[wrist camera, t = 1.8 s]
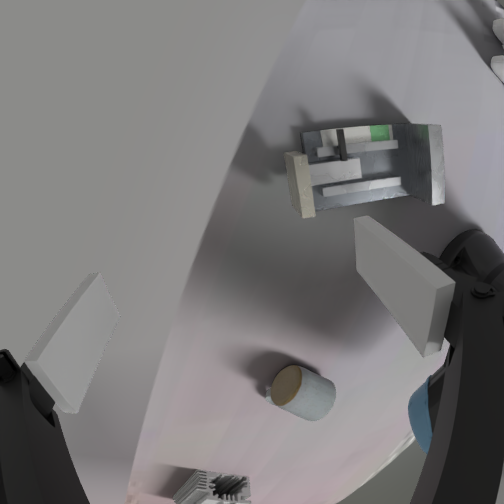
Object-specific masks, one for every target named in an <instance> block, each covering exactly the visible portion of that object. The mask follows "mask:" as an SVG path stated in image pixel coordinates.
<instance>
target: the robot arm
mask: <svg viewBox="0 0 504 504" xmlns="http://www.w3.org/2000/svg"><path fill="white" fill-rule="evenodd" d="M353 219H354V233H355V251H356V270H357V272H358V273H359V274H360V275H361V276H362V278H363V279H364V280H365V281H366V283H367V284H368V285H369V286H370V288H371V289H372V290H373V291H374V293H375V294H376V295H377V296H378V298H379V299H380V300H381V302H382V303H383V304H384V305H385V307H386V308H387V309H388V311H389V312H390V313H391V315H392V316H393V317H394V319H395V320H396V321H397V322H398V324H399V325H400V326H401V328H402V329H403V331H404V332H405V333H406V335H407V336H408V337H409V339H410V340H411V341H412V343H413V344H414V346H415V347H416V348H417V350H418V351H419V352H420V354H421V355H422V357H423V358H424V357H426V356H428V355H431V354H433V353H435V352H438V351H440V350H441V347H442V344H443V340H444V337H445V338H446V340H447V341H448V342H449V343H450V346H449V350H448V353H447V356H446V359H445V362H444V364H443V365H442V366H441V367H440V368H439V369H438V370H437V371H436V372H435V373H434V374H433V375H430V376H429V377H428V378H427V380H426V382H425V383H424V384H423V385H422V386H421V387H419V388H418V389H417V390H416V391H415V392H414V393H413V394H412V396H411V398H410V400H409V404H408V415H409V420H410V424H411V427H412V430H413V433H414V435H415V437H416V440H417V442H418V443H419V445H420V447H421V449H422V450H423V451H424V452H426V454H427V457H426V460H425V463H424V466H423V469H422V472H421V475H420V478H419V481H418V484H417V486H416V489H415V492H414V494H413V497H412V499H411V502H410V504H504V253H503V252H502V250H501V249H500V248H499V247H498V245H497V244H496V242H495V241H494V240H493V239H492V238H491V237H490V236H488V235H487V234H485V233H483V232H481V231H479V230H469V231H466V232H464V233H462V234H460V235H459V236H458V237H456V238H455V239H454V240H453V241H452V242H451V243H450V244H449V245H448V247H447V248H446V249H445V251H444V252H443V254H442V255H441V257H440V259H438V258H437V257H435V256H433V255H431V254H428V253H425V252H423V253H419V252H418V251H416V250H415V249H414V248H412V247H411V246H410V245H408V244H407V243H406V242H404V241H403V240H402V239H400V238H399V237H398V236H396V235H395V234H394V233H392V232H391V231H389V230H388V229H387V228H385V227H384V226H382V225H381V224H380V223H378V222H377V221H375V220H374V219H372V218H371V217H370V216H368V215H367V216H362V217H357V218H353ZM120 317H121V316H120V314H119V313H118V310H117V308H116V306H115V304H114V302H113V300H112V297H111V295H110V293H109V291H108V288H107V286H106V284H105V281H104V279H103V277H102V274H101V272H98V273H93V274H89V275H88V276H87V277H86V278H85V280H84V281H83V282H82V283H81V285H80V286H79V287H78V288H77V290H76V291H75V292H74V293H73V294H72V296H71V297H70V298H69V299H68V301H67V302H66V303H65V304H64V306H63V307H62V308H61V310H60V311H59V312H58V314H57V315H56V316H55V318H54V319H53V320H52V322H51V323H50V324H49V326H48V327H47V328H46V330H45V331H44V332H43V334H42V335H41V337H40V338H39V340H38V341H37V342H36V344H35V345H34V347H33V348H32V350H31V351H30V352H29V354H28V356H27V357H26V359H25V360H24V363H23V365H22V366H21V367H19V365H18V364H17V362H16V361H15V359H14V358H13V356H12V355H11V354H10V352H9V350H7V349H3V350H0V504H90V503H89V501H88V499H87V496H86V494H85V492H84V490H83V487H82V485H81V483H80V480H79V478H78V476H77V473H76V470H75V468H74V465H73V462H72V460H71V457H70V454H69V451H68V448H67V445H66V442H65V439H64V436H63V432H62V429H61V426H60V422H59V419H58V415H57V414H56V412H55V411H54V410H53V409H52V408H53V406H54V404H55V403H56V404H57V405H58V406H59V408H60V409H61V410H62V411H63V412H64V413H78V411H79V408H80V406H81V403H82V401H83V399H84V396H85V394H86V391H87V389H88V386H89V384H90V382H91V380H92V377H93V375H94V373H95V370H96V368H97V366H98V364H99V361H100V359H101V357H102V355H103V353H104V351H105V348H106V346H107V344H108V342H109V340H110V338H111V336H112V334H113V332H114V330H115V328H116V326H117V323H118V321H119V319H120Z"/></svg>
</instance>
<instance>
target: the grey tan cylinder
mask: <svg viewBox="0 0 504 504" xmlns="http://www.w3.org/2000/svg"><path fill="white" fill-rule="evenodd" d="M335 398H336V389H335V386H334V384H333V383H332V381H330V380H329V379H326V378H324V377H322V376H320V375H318V374H316V373H313V372H311V371H309V370H307V369H305V368H303V367H300V366H296V365H291V366H288V367H286V368H284V369H283V370H281V371H280V372H279V374H278V375H277V376H276V377H275V379H274V381H273V383H272V386H271V388H270V389H268V390H267V392H266V396H265V399H266V401H267V402H269V403H270V404H273V405H275V406H278V407H279V408H281V409H283V410H285V411H288V412H290V413H292V414H294V415H297V416H299V417H301V418H303V419H306V420H308V421H317V420H320V419H321V418H323V417H324V416H326V415H327V414H328V412H329V411H330V410H331V408H332V407H333V404H334V402H335Z"/></svg>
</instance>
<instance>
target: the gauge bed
mask: <svg viewBox="0 0 504 504" xmlns="http://www.w3.org/2000/svg"><path fill="white" fill-rule="evenodd" d="M336 129H344V136H345V143H346V150H347V158H350V157H357V158H360V165H361V175H362V178H358V179H351V180H345V181H338V182H332V183H326V184H319V185H313V186H312V192H313V200H314V207H315V211H320V210H325V209H331V208H336V207H342V206H347V205H353V204H359V203H365V202H371V201H377V200H383V199H389V198H395V197H401V196H407V195H411V196H413V197H415V198H417V199H419V200H422V201H424V202H426V203H428V204H430V205H437V204H443V203H445V176H444V153H443V140H442V129H441V125H433V124H414V123H408V124H384V125H368V126H355V127H344V128H334V129H325V130H317V131H309V132H301V133H300V136H301V142H302V148H303V154H307V158H308V163H314V162H320V161H327V160H334V159H340V155H339V147H338V140H337V134H336Z"/></svg>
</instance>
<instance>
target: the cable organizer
mask: <svg viewBox="0 0 504 504" xmlns="http://www.w3.org/2000/svg"><path fill="white" fill-rule="evenodd" d="M492 29H493V32H494V34H495V35H496V36H497V38H498V39H499V40H500V41H501V42H502V44H503V45H501V46H503V48H502V49H504V18H501V19H496V20H494V21H493V27H492ZM491 68H492V70H493V72H494V73H495V74H496V75H497V76H498V78H499V79H500V80H501V81H502V82H503V83H504V55H501V56H493V57H492V59H491Z"/></svg>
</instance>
